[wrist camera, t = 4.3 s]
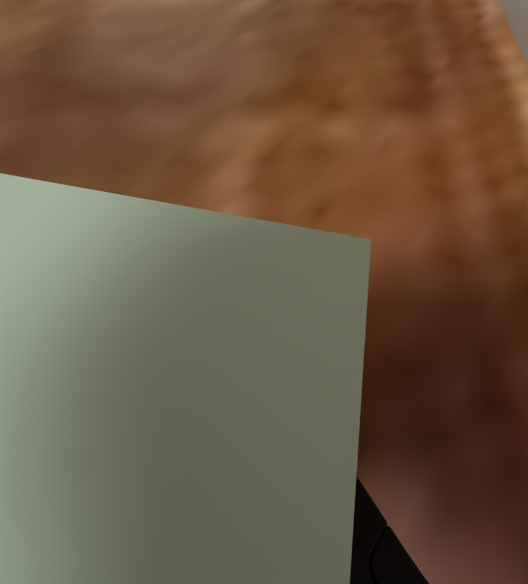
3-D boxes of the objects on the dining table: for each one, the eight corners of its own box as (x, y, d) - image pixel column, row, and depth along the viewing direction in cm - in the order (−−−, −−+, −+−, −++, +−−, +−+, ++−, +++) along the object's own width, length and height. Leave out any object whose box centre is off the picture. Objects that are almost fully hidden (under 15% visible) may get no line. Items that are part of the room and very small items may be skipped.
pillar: (252, 540, 13) (303, 1329, 1) (118, 512, 13) (-862, 1018, 1) (274, 399, 15) (370, 240, 3) (159, 377, 15) (-122, 152, 4)
